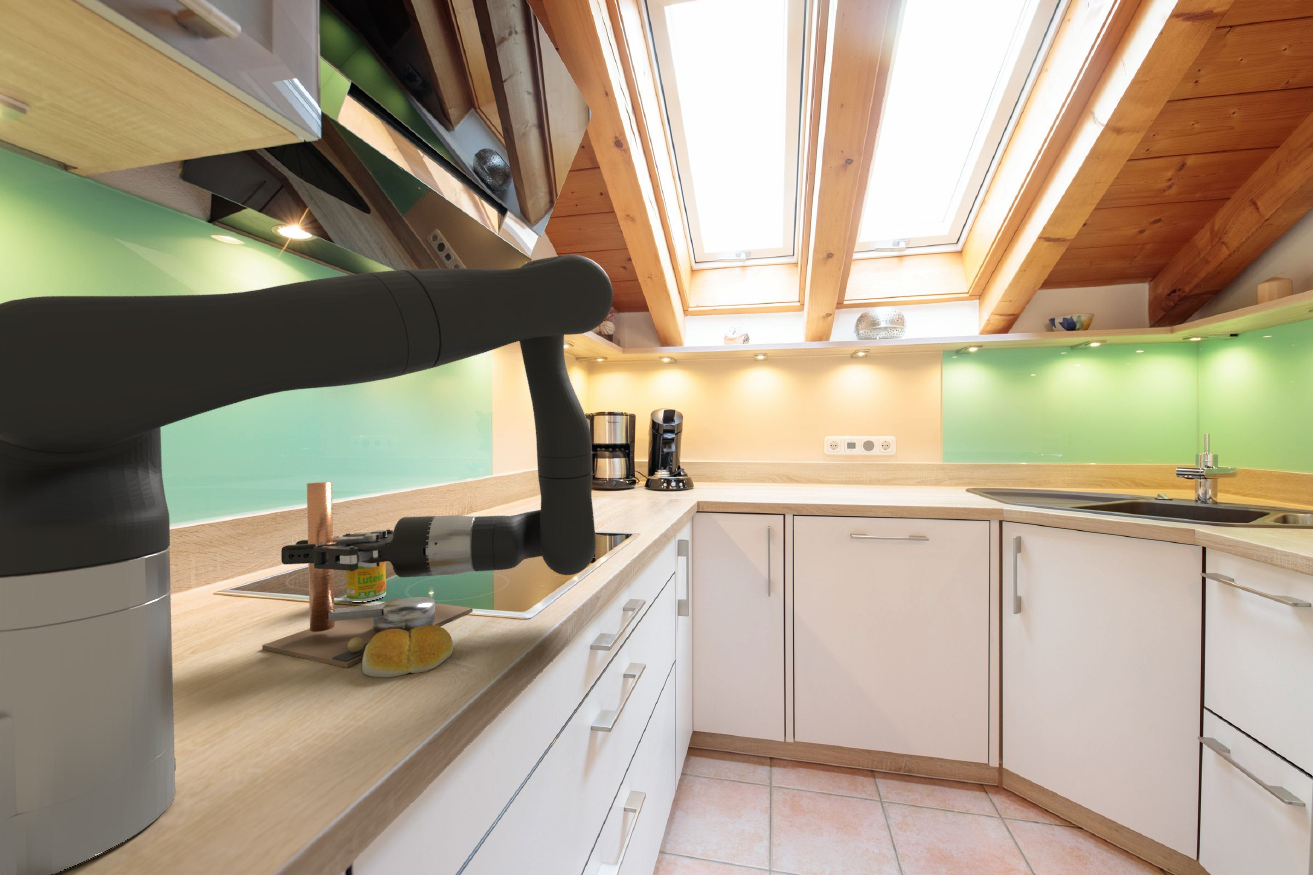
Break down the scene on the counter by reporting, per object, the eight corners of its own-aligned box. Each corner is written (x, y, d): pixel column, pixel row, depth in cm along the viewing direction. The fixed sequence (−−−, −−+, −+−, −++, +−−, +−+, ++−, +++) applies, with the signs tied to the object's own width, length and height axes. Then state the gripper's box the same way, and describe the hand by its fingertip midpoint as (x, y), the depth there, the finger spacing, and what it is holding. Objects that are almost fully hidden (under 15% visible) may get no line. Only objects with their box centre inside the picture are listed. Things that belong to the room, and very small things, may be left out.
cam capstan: (439, 612, 70) (436, 477, 70) (430, 629, 64) (426, 480, 64) (321, 623, 67) (318, 481, 67) (299, 642, 61) (296, 485, 61)
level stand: (347, 667, 56) (346, 646, 56) (262, 649, 61) (261, 630, 61) (472, 611, 73) (472, 595, 73) (397, 601, 79) (397, 586, 79)
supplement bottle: (356, 606, 77) (354, 540, 77) (340, 599, 80) (339, 537, 80) (392, 596, 81) (391, 534, 81) (376, 590, 85) (375, 531, 85)
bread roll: (455, 669, 56) (454, 632, 56) (359, 687, 52) (358, 647, 52) (451, 641, 63) (450, 609, 63) (367, 656, 60) (366, 621, 59)
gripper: (450, 509, 73) (317, 513, 71) (423, 524, 60) (255, 531, 57) (451, 562, 73) (317, 568, 71) (423, 589, 60) (256, 599, 57)
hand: (290, 551), depth 64 cm, fingers closed on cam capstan, 2 cm apart
